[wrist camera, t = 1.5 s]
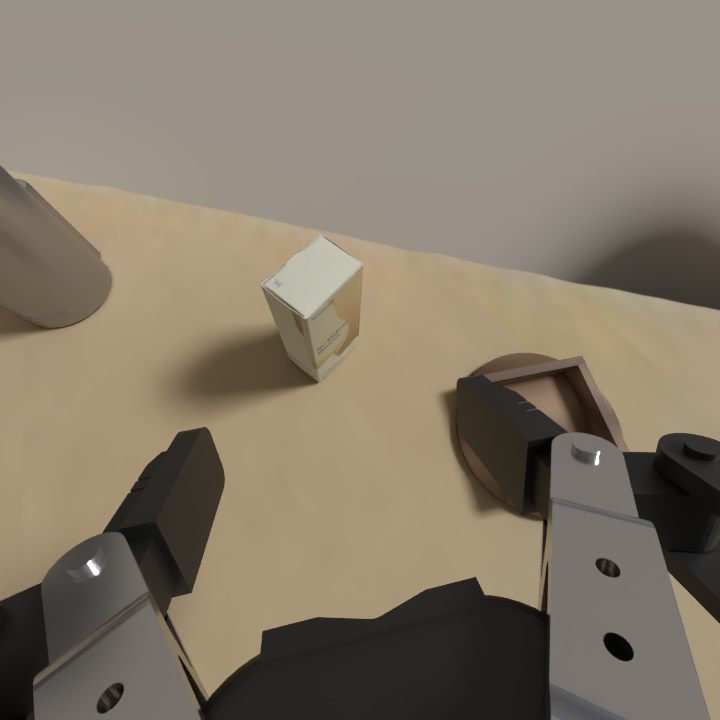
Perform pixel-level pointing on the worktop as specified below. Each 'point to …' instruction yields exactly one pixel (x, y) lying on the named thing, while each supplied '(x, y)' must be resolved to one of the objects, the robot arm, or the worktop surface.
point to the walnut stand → (549, 402)
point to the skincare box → (317, 305)
